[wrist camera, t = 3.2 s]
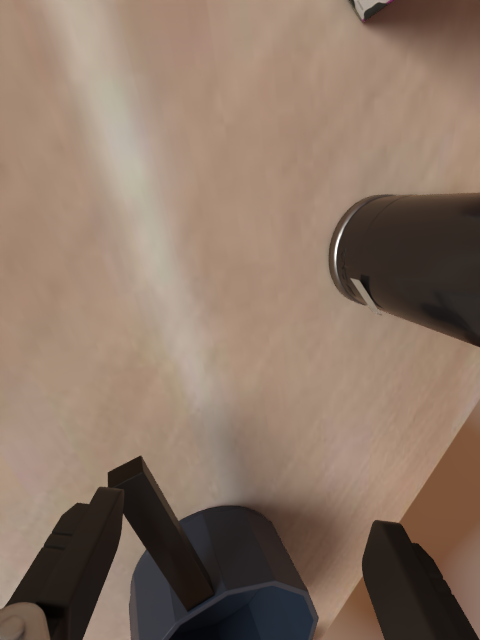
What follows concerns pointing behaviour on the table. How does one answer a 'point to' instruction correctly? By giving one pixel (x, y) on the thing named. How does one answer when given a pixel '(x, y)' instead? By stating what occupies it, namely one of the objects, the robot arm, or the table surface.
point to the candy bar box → (368, 7)
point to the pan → (209, 571)
